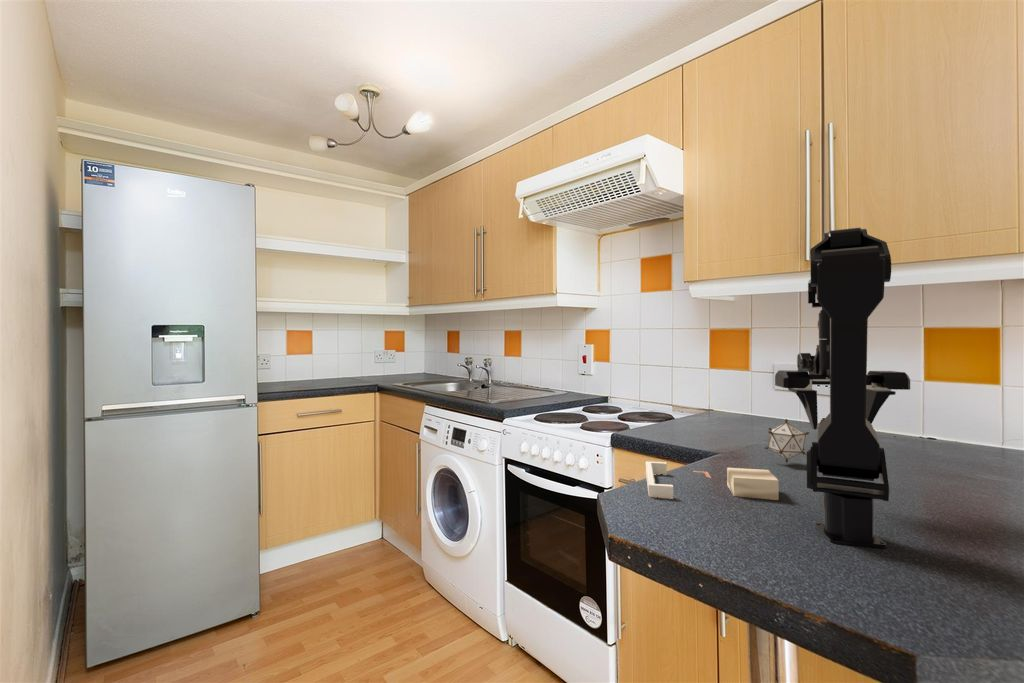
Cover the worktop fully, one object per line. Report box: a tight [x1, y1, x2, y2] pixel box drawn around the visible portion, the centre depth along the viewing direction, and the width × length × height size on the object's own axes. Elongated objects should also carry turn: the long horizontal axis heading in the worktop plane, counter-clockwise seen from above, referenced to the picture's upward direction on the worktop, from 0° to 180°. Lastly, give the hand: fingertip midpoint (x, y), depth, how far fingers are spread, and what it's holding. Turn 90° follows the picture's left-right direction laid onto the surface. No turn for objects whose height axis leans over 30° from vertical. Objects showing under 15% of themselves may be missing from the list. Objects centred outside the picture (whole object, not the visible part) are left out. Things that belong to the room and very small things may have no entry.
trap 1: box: [693, 470, 712, 479], centre depth 99 cm, size 5×8×1 cm, turn 76°
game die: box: [764, 418, 810, 464], centre depth 109 cm, size 9×8×10 cm
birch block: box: [726, 467, 780, 501], centre depth 87 cm, size 7×7×4 cm
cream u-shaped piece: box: [645, 461, 674, 500], centre depth 91 cm, size 17×4×3 cm, turn 166°
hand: (839, 429), depth 84 cm, fingers open, 7 cm apart
